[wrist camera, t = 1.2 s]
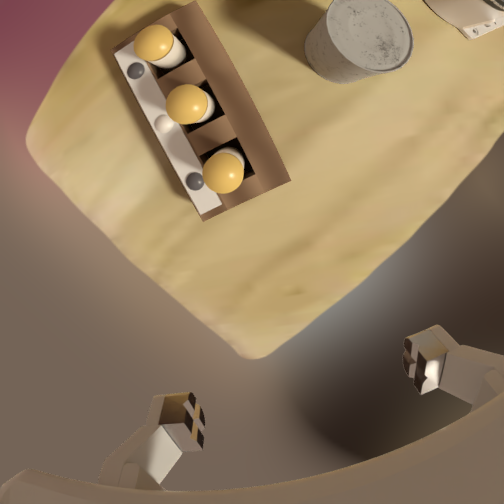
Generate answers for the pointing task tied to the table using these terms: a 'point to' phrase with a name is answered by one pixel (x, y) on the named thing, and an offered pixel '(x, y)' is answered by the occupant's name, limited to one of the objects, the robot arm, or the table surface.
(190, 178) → the strip
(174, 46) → the button
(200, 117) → the middle button
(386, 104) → the table surface
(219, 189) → the button
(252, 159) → the button board
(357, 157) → the table surface
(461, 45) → the table surface
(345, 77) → the grey concrete cylinder
